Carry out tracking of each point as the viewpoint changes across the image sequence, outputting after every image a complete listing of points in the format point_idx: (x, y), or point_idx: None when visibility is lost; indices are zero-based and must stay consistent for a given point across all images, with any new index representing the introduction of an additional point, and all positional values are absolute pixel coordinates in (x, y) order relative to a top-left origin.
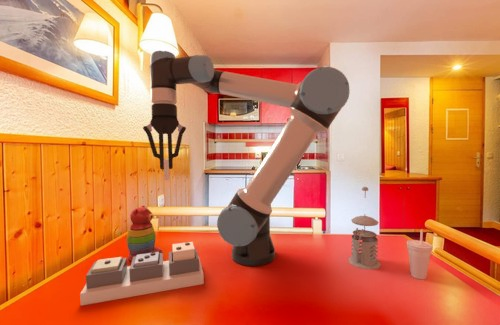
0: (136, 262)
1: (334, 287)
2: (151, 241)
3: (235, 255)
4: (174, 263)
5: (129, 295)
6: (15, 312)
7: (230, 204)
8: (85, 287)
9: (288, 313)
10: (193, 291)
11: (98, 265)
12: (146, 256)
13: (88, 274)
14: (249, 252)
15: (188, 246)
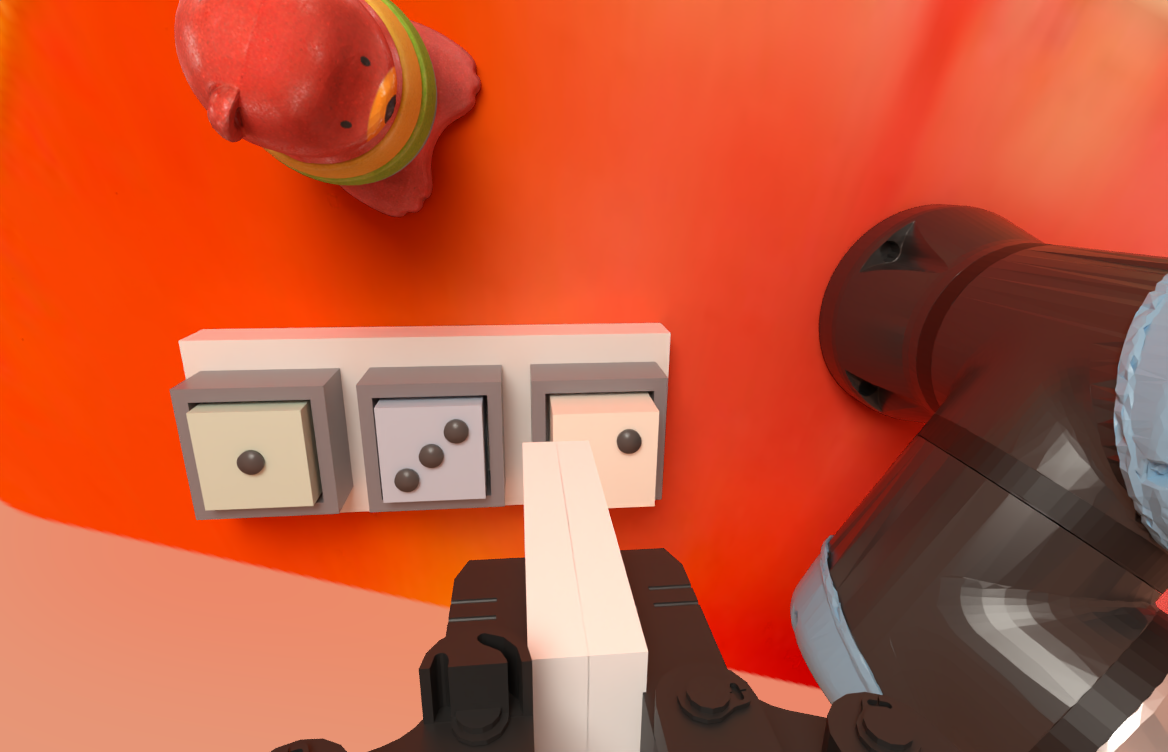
0: (391, 494)
1: None
2: (417, 154)
3: (836, 355)
4: None
5: None
6: (7, 475)
7: (945, 718)
8: None
9: None
10: (611, 513)
11: (218, 478)
12: (428, 458)
13: (202, 511)
14: (895, 412)
15: (630, 469)
